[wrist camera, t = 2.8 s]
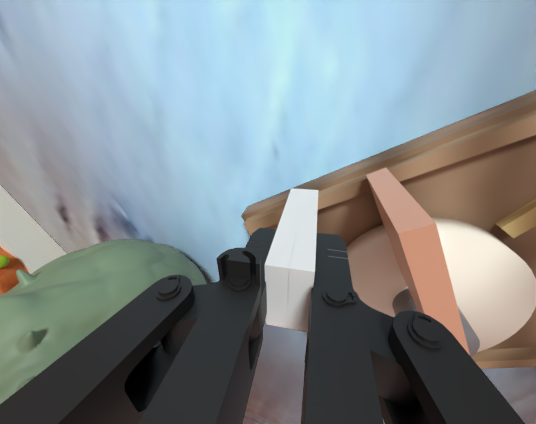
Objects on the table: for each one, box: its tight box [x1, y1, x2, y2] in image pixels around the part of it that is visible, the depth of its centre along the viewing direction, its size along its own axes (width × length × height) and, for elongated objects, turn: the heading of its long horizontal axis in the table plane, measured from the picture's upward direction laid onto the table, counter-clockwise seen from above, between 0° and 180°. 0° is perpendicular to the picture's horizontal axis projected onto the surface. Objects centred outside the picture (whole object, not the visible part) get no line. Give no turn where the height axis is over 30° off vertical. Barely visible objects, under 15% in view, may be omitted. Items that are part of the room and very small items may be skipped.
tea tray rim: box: [0, 185, 67, 274], centre depth 34 cm, size 23×33×4 cm
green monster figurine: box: [0, 239, 207, 404], centre depth 19 cm, size 16×19×20 cm
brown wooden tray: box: [242, 90, 536, 369], centre depth 19 cm, size 22×22×3 cm
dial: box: [346, 168, 536, 356], centre depth 14 cm, size 18×13×8 cm
